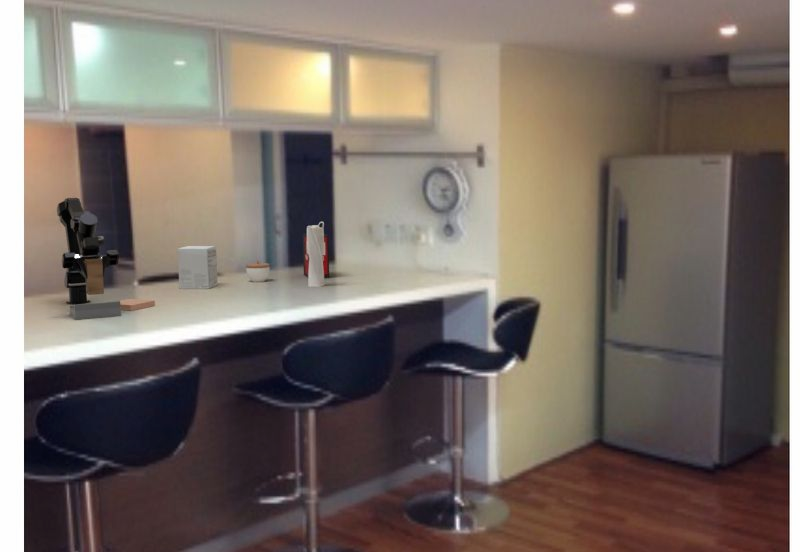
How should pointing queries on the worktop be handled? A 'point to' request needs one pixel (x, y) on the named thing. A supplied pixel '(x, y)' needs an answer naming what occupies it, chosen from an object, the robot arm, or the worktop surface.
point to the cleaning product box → (324, 257)
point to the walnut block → (94, 276)
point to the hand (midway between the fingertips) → (95, 277)
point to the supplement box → (197, 267)
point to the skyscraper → (315, 255)
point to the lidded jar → (258, 271)
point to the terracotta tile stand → (135, 304)
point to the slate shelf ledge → (95, 310)
